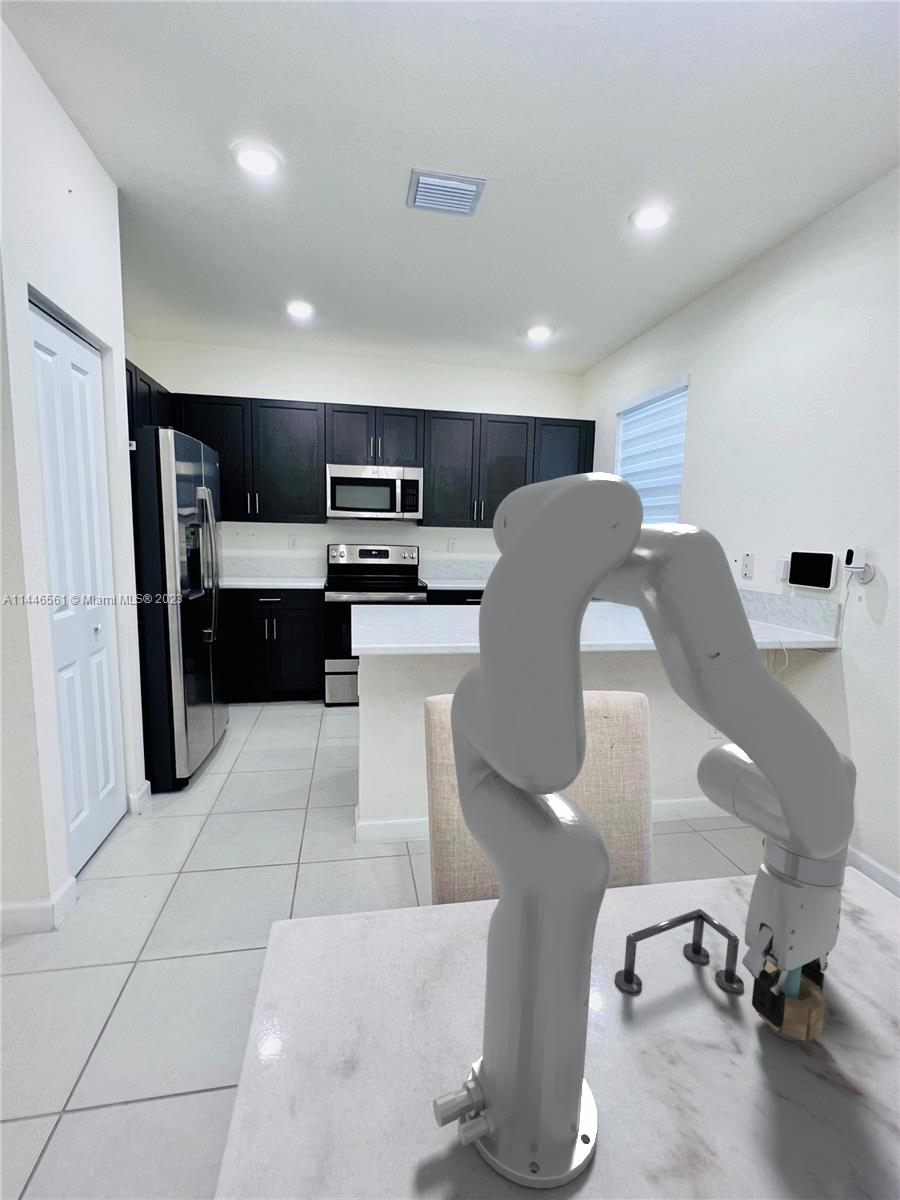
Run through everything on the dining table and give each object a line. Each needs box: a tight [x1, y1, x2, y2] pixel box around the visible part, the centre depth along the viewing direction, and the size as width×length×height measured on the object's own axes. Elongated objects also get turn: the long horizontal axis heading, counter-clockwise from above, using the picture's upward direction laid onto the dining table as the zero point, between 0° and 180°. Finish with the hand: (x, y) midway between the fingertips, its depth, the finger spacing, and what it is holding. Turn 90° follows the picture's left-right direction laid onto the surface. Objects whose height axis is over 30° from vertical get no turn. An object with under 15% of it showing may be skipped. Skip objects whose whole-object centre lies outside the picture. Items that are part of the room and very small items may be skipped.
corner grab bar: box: [614, 908, 745, 995], centre depth 67 cm, size 15×8×6 cm, turn 115°
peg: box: [767, 966, 802, 1043], centre depth 61 cm, size 3×3×9 cm
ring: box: [755, 961, 826, 1042], centre depth 61 cm, size 6×6×4 cm
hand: (786, 1004), depth 61 cm, fingers closed on ring, 6 cm apart
